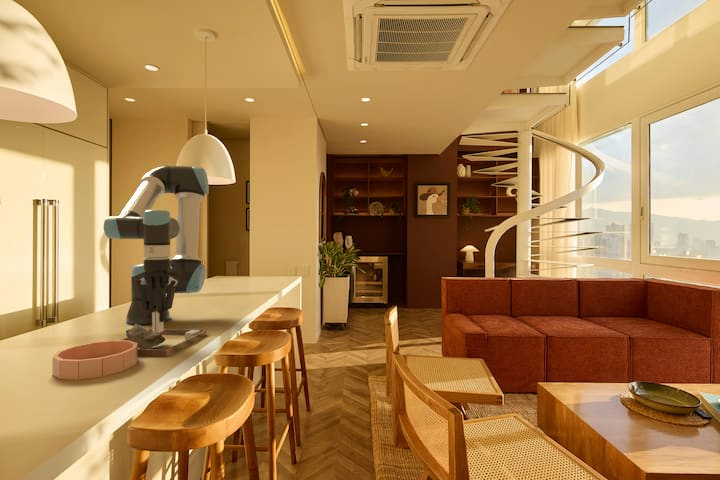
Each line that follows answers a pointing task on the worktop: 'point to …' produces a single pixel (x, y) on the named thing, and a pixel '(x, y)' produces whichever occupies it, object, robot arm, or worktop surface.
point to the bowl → (94, 359)
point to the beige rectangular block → (191, 333)
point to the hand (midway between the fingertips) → (158, 331)
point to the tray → (175, 348)
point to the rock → (144, 337)
